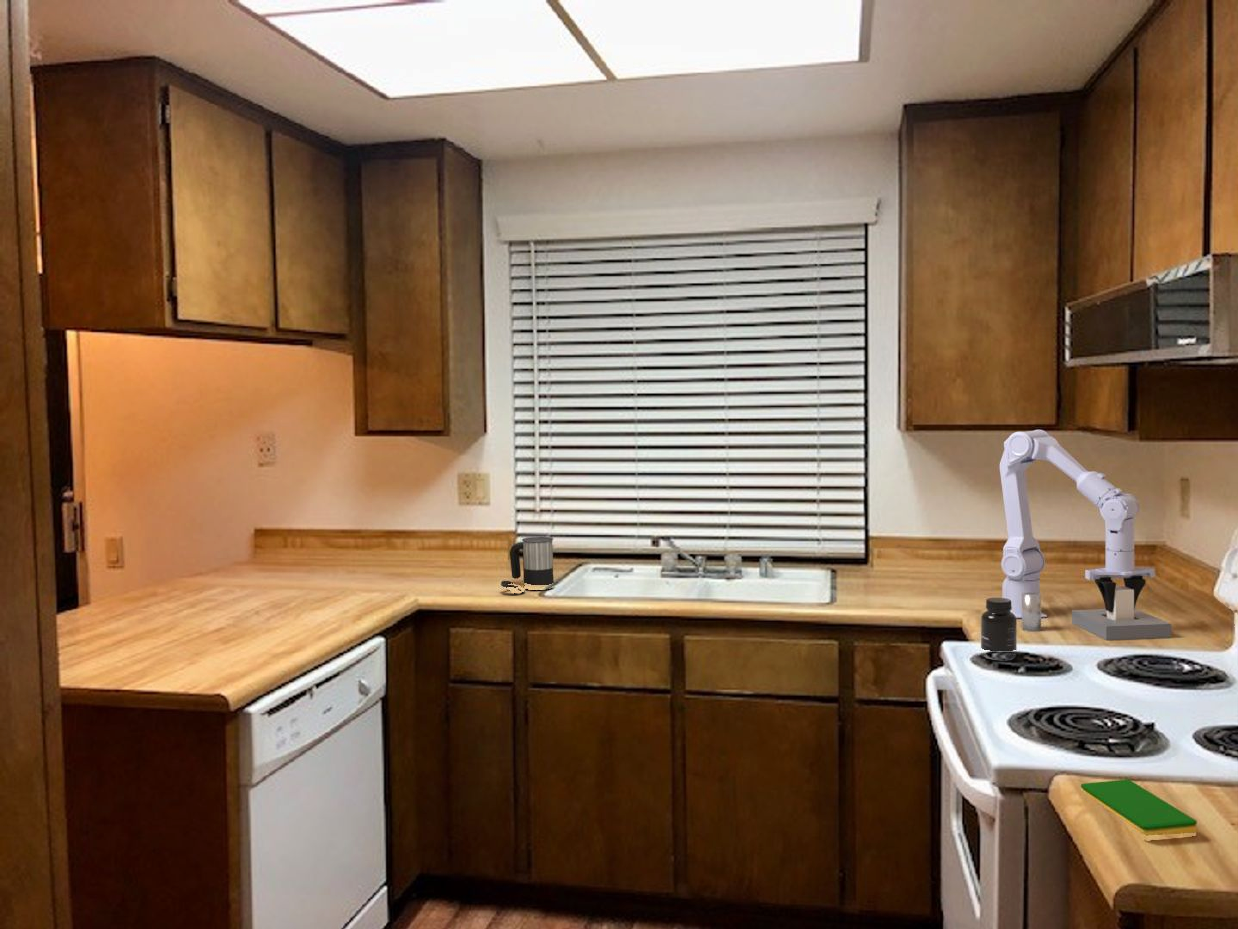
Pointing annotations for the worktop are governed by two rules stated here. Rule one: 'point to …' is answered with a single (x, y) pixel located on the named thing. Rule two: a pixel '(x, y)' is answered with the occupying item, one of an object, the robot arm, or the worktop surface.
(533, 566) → the milk frother
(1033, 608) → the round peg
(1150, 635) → the socket plate
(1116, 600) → the square peg
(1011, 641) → the supplement bottle
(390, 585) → the worktop surface
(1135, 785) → the dish sponge
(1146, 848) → the worktop surface
